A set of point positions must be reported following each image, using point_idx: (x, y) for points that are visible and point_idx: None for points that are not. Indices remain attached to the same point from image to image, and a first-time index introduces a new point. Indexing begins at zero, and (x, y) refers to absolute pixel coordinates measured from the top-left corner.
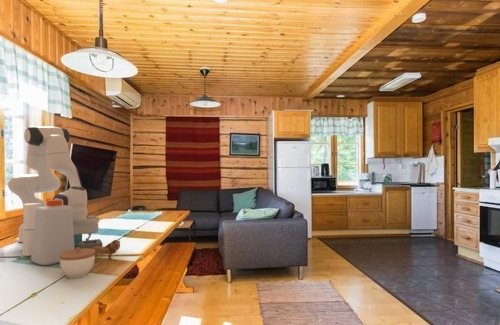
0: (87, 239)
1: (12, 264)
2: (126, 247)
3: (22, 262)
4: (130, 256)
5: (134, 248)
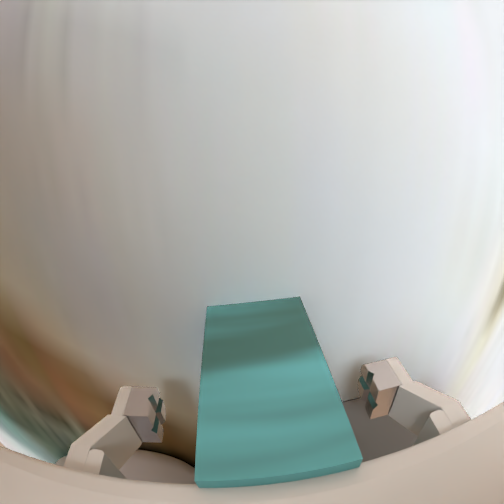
0: (382, 409)
1: (16, 448)
2: (500, 383)
3: (32, 449)
4: None
5: (501, 401)
